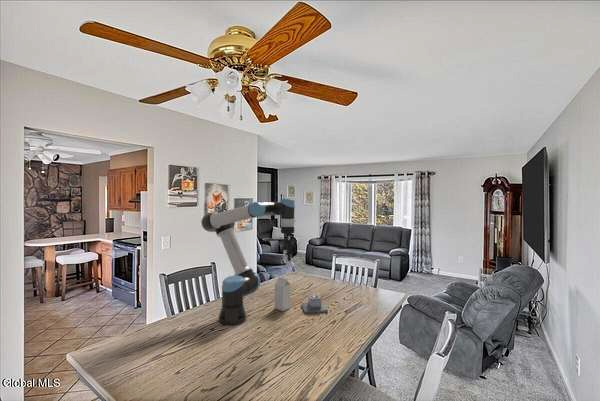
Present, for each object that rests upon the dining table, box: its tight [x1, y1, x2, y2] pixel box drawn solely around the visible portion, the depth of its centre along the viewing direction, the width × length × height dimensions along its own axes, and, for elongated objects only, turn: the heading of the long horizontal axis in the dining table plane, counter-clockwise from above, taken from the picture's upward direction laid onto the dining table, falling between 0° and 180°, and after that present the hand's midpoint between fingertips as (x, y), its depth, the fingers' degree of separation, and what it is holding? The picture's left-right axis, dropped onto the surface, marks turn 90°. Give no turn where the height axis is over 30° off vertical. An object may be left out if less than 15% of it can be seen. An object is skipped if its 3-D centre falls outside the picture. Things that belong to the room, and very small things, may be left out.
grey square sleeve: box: [307, 294, 322, 309], centre depth 179 cm, size 7×7×6 cm
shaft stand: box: [300, 294, 329, 315], centre depth 179 cm, size 14×14×8 cm
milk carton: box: [274, 276, 292, 312], centre depth 179 cm, size 7×7×19 cm
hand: (287, 263), depth 161 cm, fingers open, 13 cm apart
